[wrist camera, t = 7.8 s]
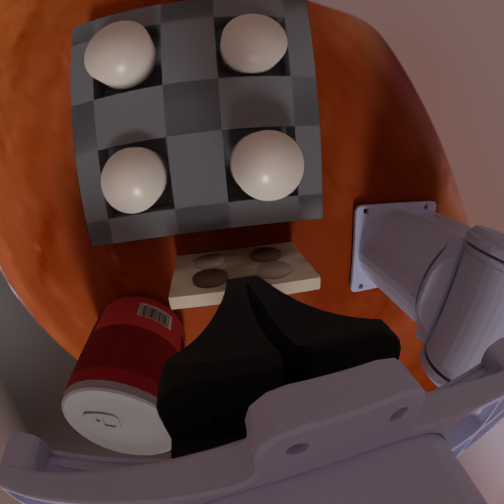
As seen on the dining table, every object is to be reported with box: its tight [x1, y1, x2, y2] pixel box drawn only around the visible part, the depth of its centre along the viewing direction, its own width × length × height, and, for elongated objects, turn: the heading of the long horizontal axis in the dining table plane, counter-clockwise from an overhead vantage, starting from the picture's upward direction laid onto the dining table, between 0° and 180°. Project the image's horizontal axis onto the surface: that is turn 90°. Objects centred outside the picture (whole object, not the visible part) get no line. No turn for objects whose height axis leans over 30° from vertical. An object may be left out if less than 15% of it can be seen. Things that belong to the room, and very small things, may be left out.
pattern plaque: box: [168, 242, 320, 310], centre depth 20 cm, size 9×1×6 cm, turn 94°
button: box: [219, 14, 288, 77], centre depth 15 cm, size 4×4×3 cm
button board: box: [71, 0, 323, 247], centre depth 17 cm, size 16×16×3 cm
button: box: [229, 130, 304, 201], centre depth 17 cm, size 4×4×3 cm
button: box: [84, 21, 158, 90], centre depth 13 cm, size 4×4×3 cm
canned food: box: [62, 294, 185, 455], centre depth 19 cm, size 8×8×11 cm
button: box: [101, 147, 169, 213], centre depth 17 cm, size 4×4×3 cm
